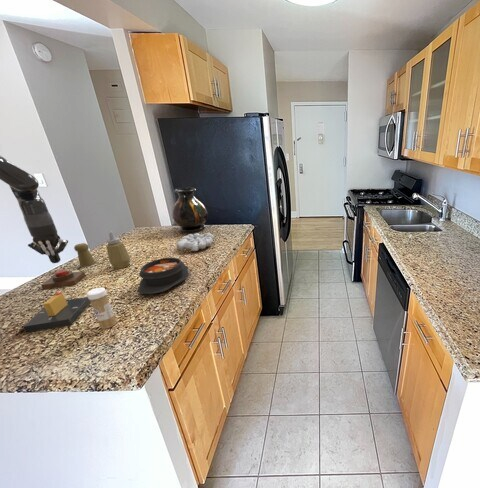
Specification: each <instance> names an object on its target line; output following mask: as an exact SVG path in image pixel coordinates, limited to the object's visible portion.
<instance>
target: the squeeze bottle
mask: <svg viewBox="0 0 480 488" xmlns="http://www.w3.org/2000/svg"><path fill="white" fill-rule="evenodd" d="M108 235H109V236H108V237H109V238H108V239H107V241H106V242H107V245H106V251H107V257H108V260H109V264H110V265H111V266H112V267H113V268H114V269H117V270H119V269H123V268H124V269H125V268H127V267H129V266H130V261H131V257H130V255H129V253H128V250H127V248H126V246H125V243H124V242H123V241H121V240H120V238H119V237H116V235H115V234H114V232H113V231H109V232H108Z"/></svg>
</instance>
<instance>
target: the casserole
mask: <svg viewBox="0 0 480 488" xmlns="http://www.w3.org/2000/svg"><path fill="white" fill-rule="evenodd" d="M189 274H190V273H189V266H188V265H186V264H185V263H184V262H183V261H182V260H181V259H180V258H178V257H164V258H159V259H155V260H151V261H149V262H147V263H145V264H144V265H142V266H141V268H140V271H139V274H138V276H139V277H140V278H141V280H140V282H139V287H138V288H137V293H139V294H144V295H152V294H153V295H154V294H159V293H164V292H167V291H169V290H170V289H171V288H172V287H175V286H176V285H179V284H180V283H182V282H183V281H184V280H186V279H187V278H188V277H189Z"/></svg>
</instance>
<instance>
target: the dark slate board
mask: <svg viewBox="0 0 480 488" xmlns="http://www.w3.org/2000/svg"><path fill="white" fill-rule="evenodd" d="M65 300H66V302H67V304H68V305H67V306H66V307H64V308H63V309H62V310H61V311H60V312H59V313H57V314H56V315H55V316H49V315H48V313H47V311H46V309H45V307H44V306H43V308H42V309H40V310H39V312H37V313H36V314H35V315H34V316H33V317H32V318H31V319H30V320H28V321H27V322H26V323H25V324H24V325H23V326H22V329H23V330H24V332H25V334H29V333H33V332H40V331H45V330H50V329H56V328H57V329H58V328H63V327H69V326H72V325H73V324H74V323H75V322H76V321H77V319H78V318H79V317H80V316H81V315H82V314H83V312H84V311H85V310H86V309H87V308H88V307H89V306H90V304H91V302H90V300H89V299H88V296H85V297H79V298H78V297H77V298H71V299H65Z"/></svg>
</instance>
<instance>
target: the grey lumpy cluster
mask: <svg viewBox="0 0 480 488" xmlns="http://www.w3.org/2000/svg"><path fill="white" fill-rule="evenodd" d="M214 240H215V236H214V235H213V234H211V232H205V233H204V234H200V233H199V232H195V233H187V235H184V236H182V237H181V239H180V240H179V241H177V242H176V244H175V247H176V248H177V249H179V250H182V251H184V250H186V249H188V250H190V251H192V252H197V251H200V250H205V249H206V248H208V247H211V246H212V244H213V241H214Z"/></svg>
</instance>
